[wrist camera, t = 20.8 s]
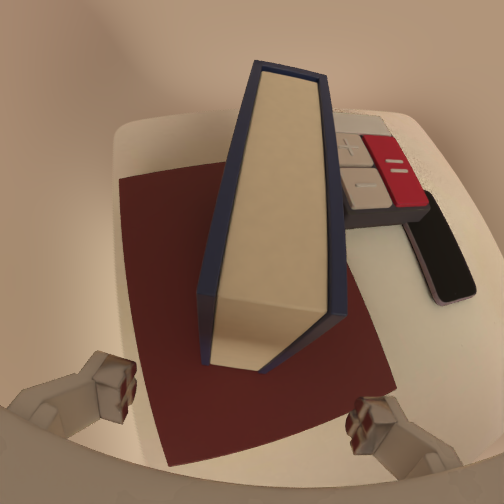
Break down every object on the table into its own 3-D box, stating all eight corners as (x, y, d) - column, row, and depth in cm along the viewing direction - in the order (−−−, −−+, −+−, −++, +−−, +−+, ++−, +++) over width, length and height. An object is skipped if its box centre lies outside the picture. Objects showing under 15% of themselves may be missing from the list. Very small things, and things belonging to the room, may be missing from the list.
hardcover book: (281, 205, 25) (327, 75, 14) (265, 374, 18) (348, 316, 8) (232, 196, 25) (254, 59, 14) (201, 364, 18) (195, 293, 8)
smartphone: (430, 190, 35) (479, 293, 28) (425, 195, 36) (473, 298, 29) (388, 187, 34) (440, 305, 26) (384, 193, 34) (433, 309, 27)
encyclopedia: (368, 394, 22) (397, 388, 19) (175, 456, 18) (168, 467, 14) (283, 185, 32) (293, 154, 28) (127, 210, 28) (118, 178, 24)
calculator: (351, 210, 27) (306, 105, 33) (335, 233, 31) (298, 130, 37) (436, 205, 29) (382, 111, 35) (416, 225, 32) (371, 134, 39)
